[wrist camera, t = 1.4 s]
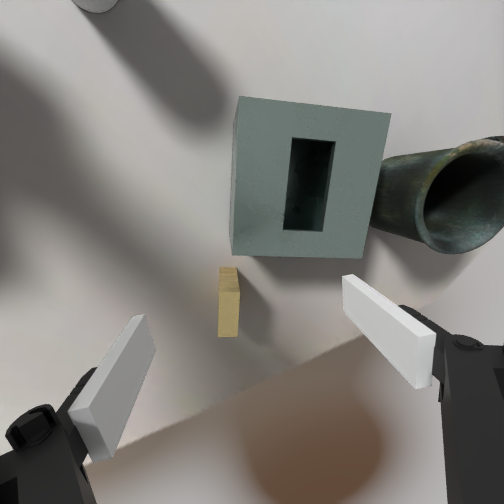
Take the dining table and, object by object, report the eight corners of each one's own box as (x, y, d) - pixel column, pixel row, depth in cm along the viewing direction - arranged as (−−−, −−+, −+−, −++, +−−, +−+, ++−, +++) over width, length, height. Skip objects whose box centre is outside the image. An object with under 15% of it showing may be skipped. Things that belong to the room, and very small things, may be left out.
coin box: (229, 233, 33) (232, 255, 24) (233, 123, 30) (239, 96, 20) (324, 237, 35) (362, 258, 26) (340, 133, 31) (391, 113, 22)
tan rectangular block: (218, 304, 36) (217, 337, 29) (219, 267, 35) (219, 291, 27) (234, 304, 37) (237, 336, 29) (236, 267, 35) (240, 291, 27)
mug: (337, 193, 34) (397, 199, 22) (421, 117, 32) (530, 81, 21) (378, 246, 37) (448, 275, 25) (455, 178, 35) (567, 178, 24)
